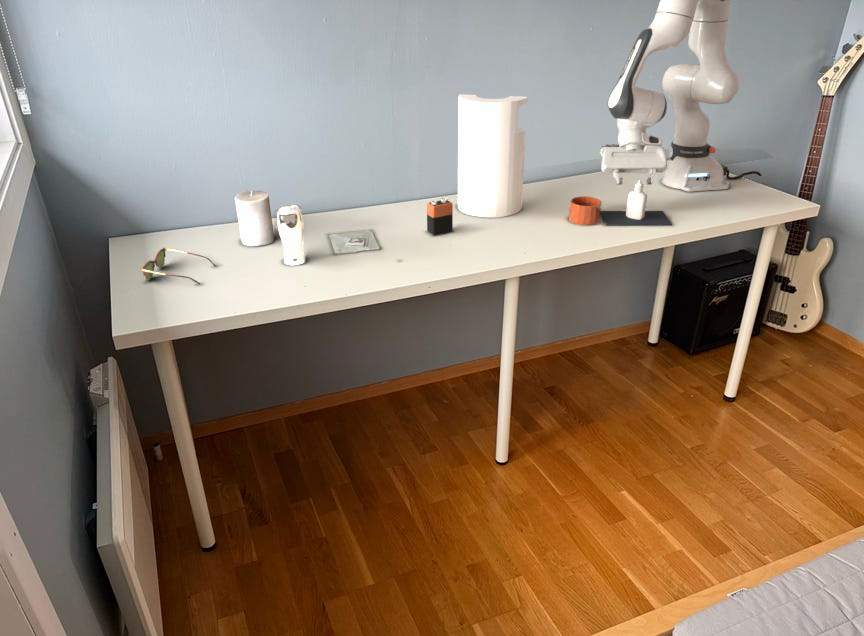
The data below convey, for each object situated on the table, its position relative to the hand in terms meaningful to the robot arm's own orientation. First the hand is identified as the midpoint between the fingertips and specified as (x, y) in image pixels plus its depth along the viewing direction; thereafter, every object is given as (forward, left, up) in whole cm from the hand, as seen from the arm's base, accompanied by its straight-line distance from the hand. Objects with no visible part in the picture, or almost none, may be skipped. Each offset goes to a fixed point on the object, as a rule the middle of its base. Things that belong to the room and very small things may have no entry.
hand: (634, 183), depth 226 cm
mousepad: (+83, +30, -9) cm, 89 cm away
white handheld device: (+101, +40, -9) cm, 109 cm away
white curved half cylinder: (+46, -1, -9) cm, 47 cm away
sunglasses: (+130, +49, -9) cm, 139 cm away
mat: (0, +6, -9) cm, 11 cm away
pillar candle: (+115, +24, -9) cm, 118 cm away
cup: (+16, +8, -9) cm, 20 cm away
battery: (+61, +18, -9) cm, 64 cm away
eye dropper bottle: (0, +6, -9) cm, 11 cm away
